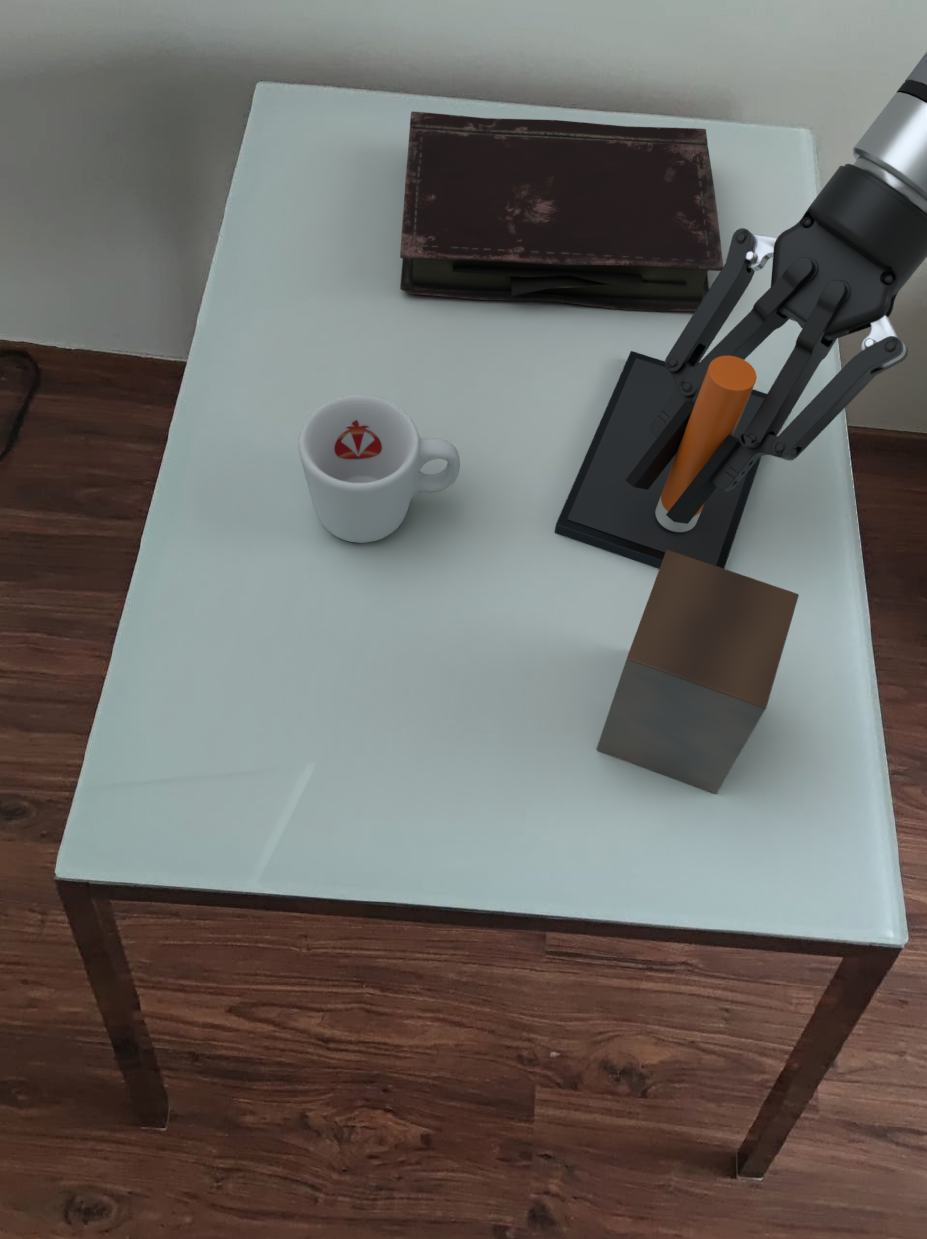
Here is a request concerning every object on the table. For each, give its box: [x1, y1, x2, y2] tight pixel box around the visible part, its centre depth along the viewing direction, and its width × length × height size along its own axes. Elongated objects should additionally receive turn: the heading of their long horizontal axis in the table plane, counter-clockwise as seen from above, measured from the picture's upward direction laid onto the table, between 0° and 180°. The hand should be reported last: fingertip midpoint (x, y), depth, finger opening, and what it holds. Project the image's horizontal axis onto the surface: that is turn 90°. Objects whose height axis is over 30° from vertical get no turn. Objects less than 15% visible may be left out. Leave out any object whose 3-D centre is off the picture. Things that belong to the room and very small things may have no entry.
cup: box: [297, 394, 461, 544], centre depth 83 cm, size 11×8×8 cm
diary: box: [399, 111, 724, 312], centre depth 100 cm, size 19×25×5 cm
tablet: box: [554, 350, 768, 570], centre depth 89 cm, size 12×18×1 cm, turn 159°
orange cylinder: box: [655, 356, 757, 532], centre depth 80 cm, size 3×3×14 cm
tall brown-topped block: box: [596, 550, 800, 795], centre depth 74 cm, size 8×8×12 cm
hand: (657, 501), depth 81 cm, fingers closed on orange cylinder, 3 cm apart
